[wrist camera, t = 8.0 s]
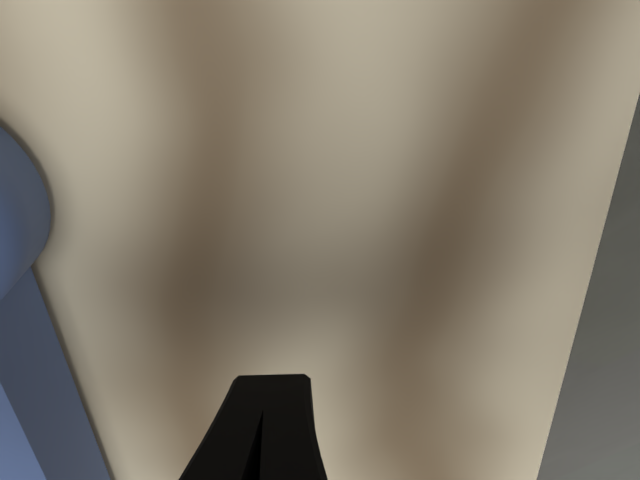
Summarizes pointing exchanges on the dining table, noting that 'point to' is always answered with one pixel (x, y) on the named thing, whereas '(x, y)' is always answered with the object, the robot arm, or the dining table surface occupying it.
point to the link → (34, 345)
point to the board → (322, 214)
